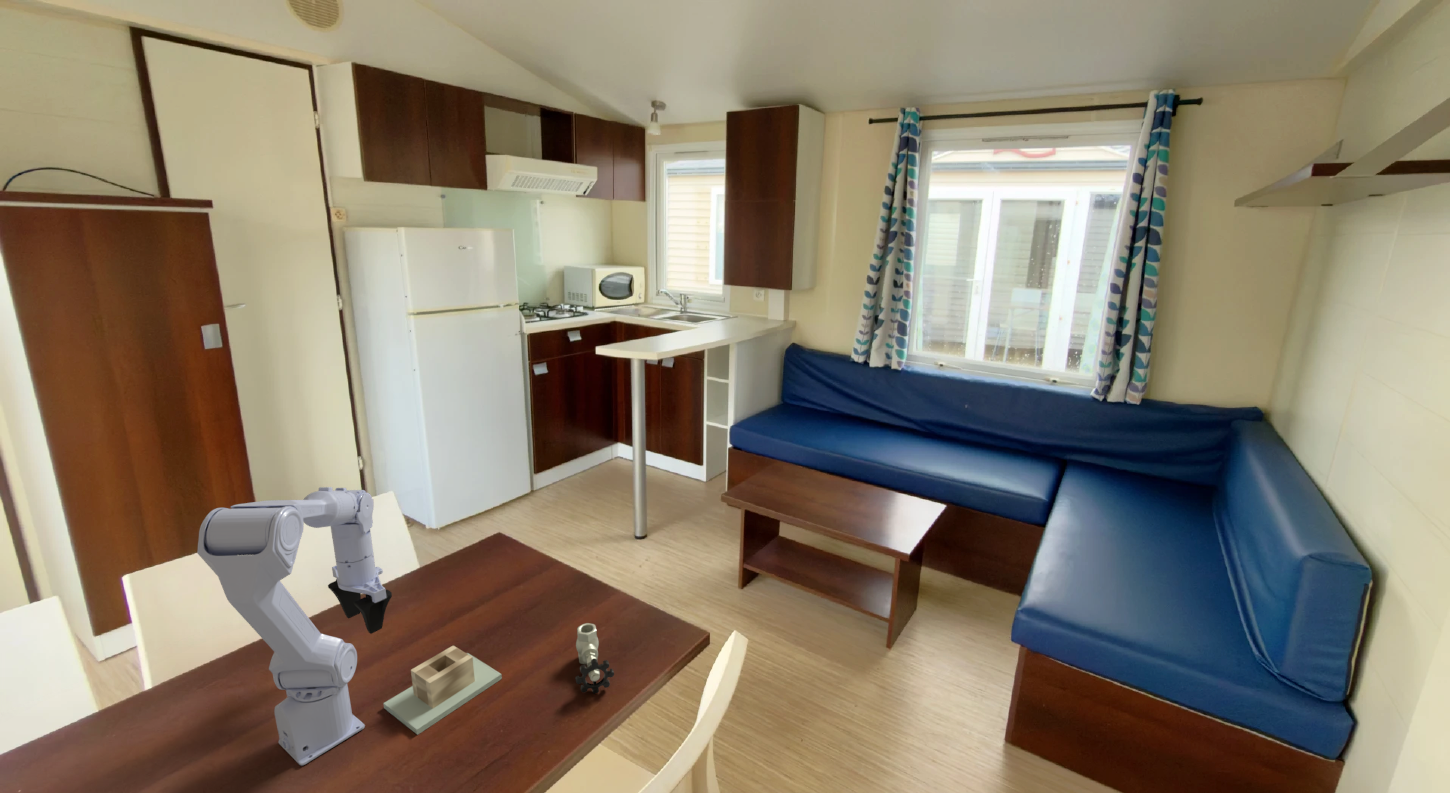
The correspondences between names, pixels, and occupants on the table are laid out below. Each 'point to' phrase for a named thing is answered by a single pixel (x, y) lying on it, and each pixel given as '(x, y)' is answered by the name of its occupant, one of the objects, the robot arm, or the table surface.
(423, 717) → the pin base
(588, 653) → the valve
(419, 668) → the collar block
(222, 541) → the robot arm
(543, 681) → the table surface
